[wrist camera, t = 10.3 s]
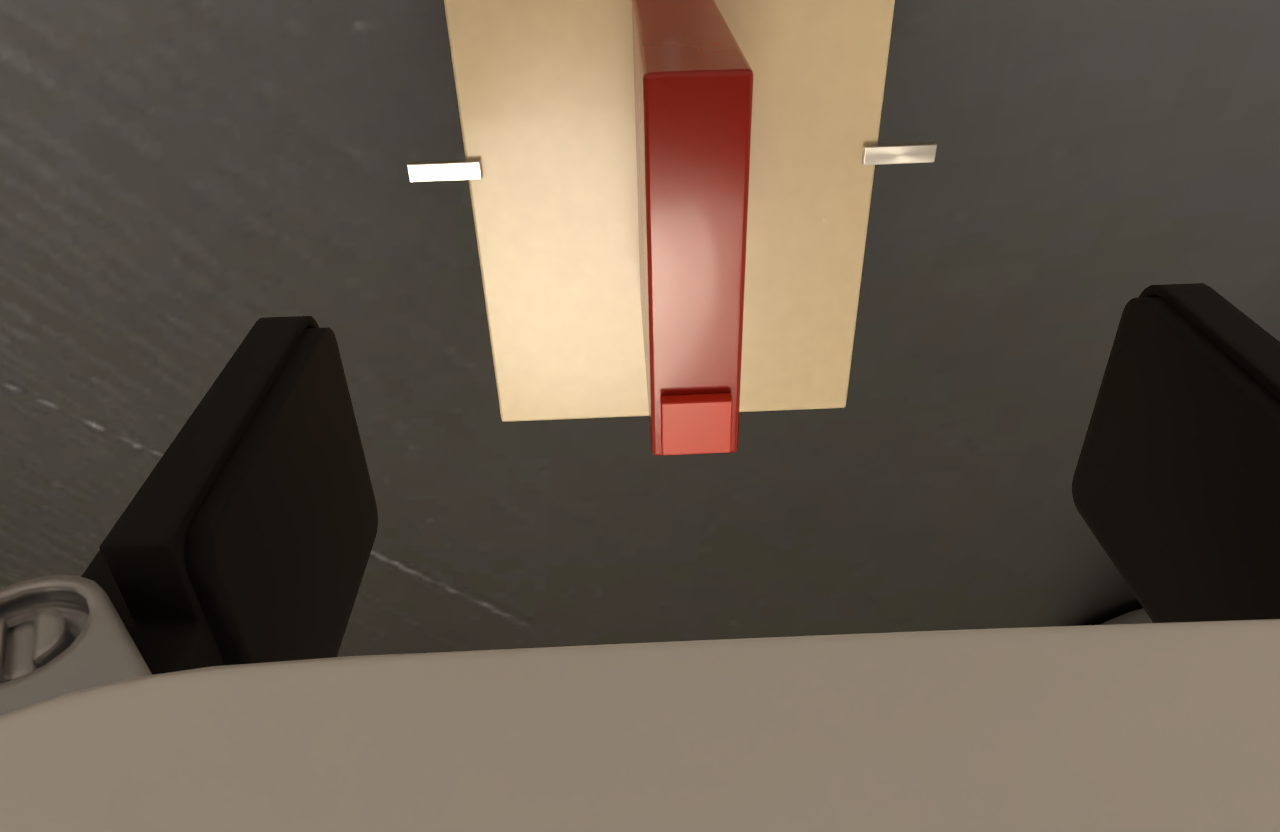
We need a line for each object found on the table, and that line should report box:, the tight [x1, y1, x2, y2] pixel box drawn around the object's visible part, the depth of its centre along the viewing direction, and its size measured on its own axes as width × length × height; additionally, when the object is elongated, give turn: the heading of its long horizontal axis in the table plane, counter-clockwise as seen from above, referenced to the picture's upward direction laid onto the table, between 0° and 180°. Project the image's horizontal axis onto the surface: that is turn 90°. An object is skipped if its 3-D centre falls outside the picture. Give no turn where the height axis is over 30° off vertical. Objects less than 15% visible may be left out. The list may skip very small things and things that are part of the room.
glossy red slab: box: [632, 0, 753, 455], centre depth 15 cm, size 6×1×6 cm, turn 2°
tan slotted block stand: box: [407, 0, 937, 422], centre depth 19 cm, size 12×10×4 cm
